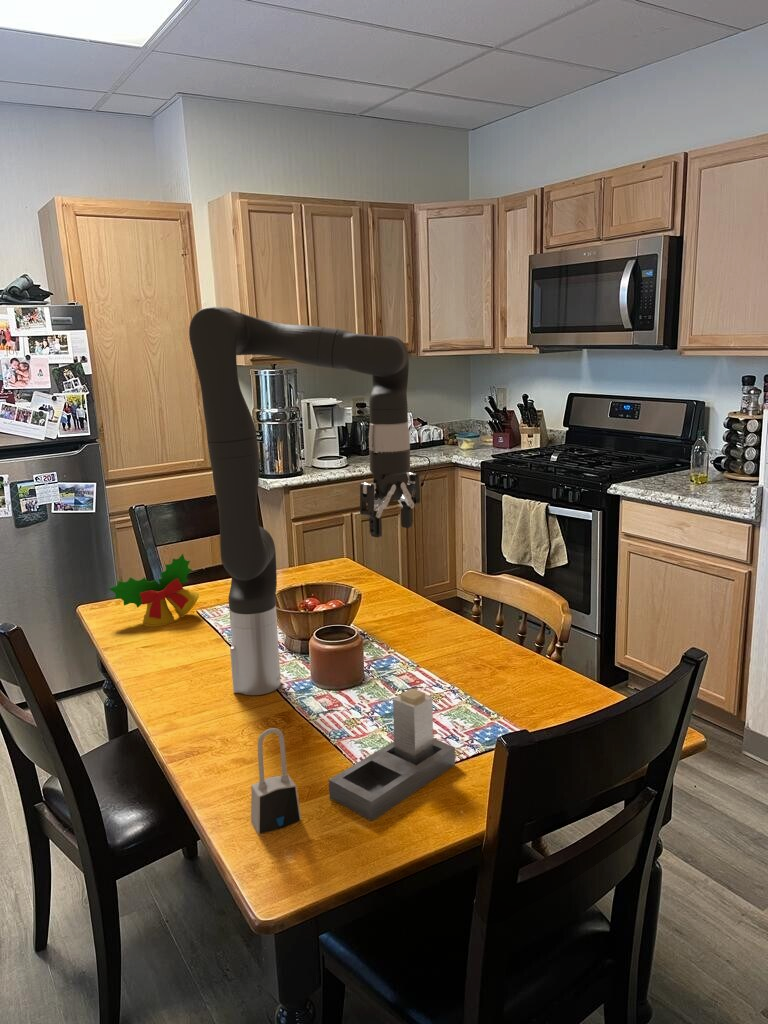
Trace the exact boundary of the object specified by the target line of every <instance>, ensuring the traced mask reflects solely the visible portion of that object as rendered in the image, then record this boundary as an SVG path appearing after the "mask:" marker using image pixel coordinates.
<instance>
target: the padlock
mask: <svg viewBox="0 0 768 1024" xmlns="http://www.w3.org/2000/svg"><path fill="white" fill-rule="evenodd" d="M270 734H276V735H277V736H278V741H279V749H280V762H281V763H280V764H281V773H282V774H281V775H276V776H270V777H267V778H265V769H264V767H265V766H264V752H263V751H264V750H263V748H264V747H263V745H264V739H265V738H266V737H267V736H268V735H270ZM285 744H286V743H285V737H284V733H283V731H281V729H279V728H276V727H270V728H268V729H266V730H264V731H263V732H262V733H261V734H260V735H259V736H258V740H257V759H258V760H257V761H258V774H259V781H258V782H256V783H253V784H252V785H251V794H250V796H251V798H250V801H251V803H250V805H251V806H250V808H251V809H250V810H251V811H250V813H251V814H250V823H251V824H252V826H253V828H254V829H255V831H256V833H257V835H259V834H264V833H268V832H273V831H278V830H281V829H284V828H286V827H289V826H291V825H293V824H296V823H299V822H300V821H302V816H301V809H300V808H301V807H300V801H299V800H300V799H299V793H298V787H297V785H296V784H295V781H293V779H292V778H291V777H290V775H289V774H288V773H287V772H288V771H287V758H286V757H287V756H286V754H287V753H286V745H285Z"/></svg>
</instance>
